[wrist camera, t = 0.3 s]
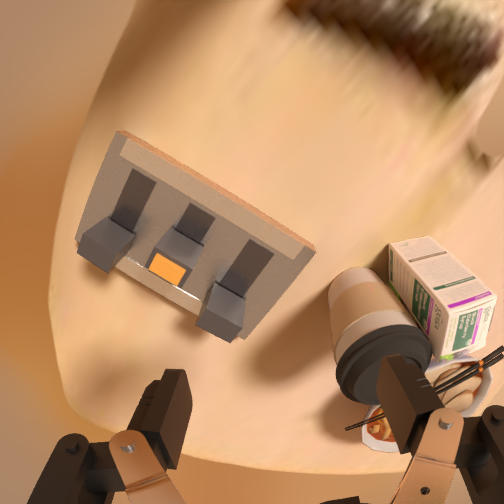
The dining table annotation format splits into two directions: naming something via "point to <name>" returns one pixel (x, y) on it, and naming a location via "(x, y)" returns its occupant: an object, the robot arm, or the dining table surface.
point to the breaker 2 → (222, 313)
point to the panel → (193, 229)
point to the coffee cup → (370, 332)
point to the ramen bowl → (447, 388)
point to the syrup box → (441, 296)
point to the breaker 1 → (105, 244)
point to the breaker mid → (174, 257)
